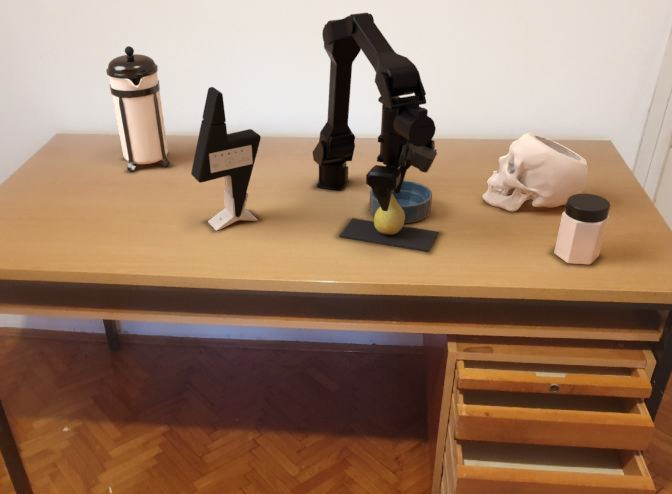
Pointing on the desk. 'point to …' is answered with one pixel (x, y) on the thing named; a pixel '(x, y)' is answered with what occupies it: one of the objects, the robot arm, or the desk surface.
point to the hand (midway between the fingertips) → (391, 201)
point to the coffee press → (138, 109)
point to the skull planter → (536, 174)
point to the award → (225, 160)
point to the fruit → (389, 218)
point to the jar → (582, 228)
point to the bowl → (409, 201)
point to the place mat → (403, 238)
